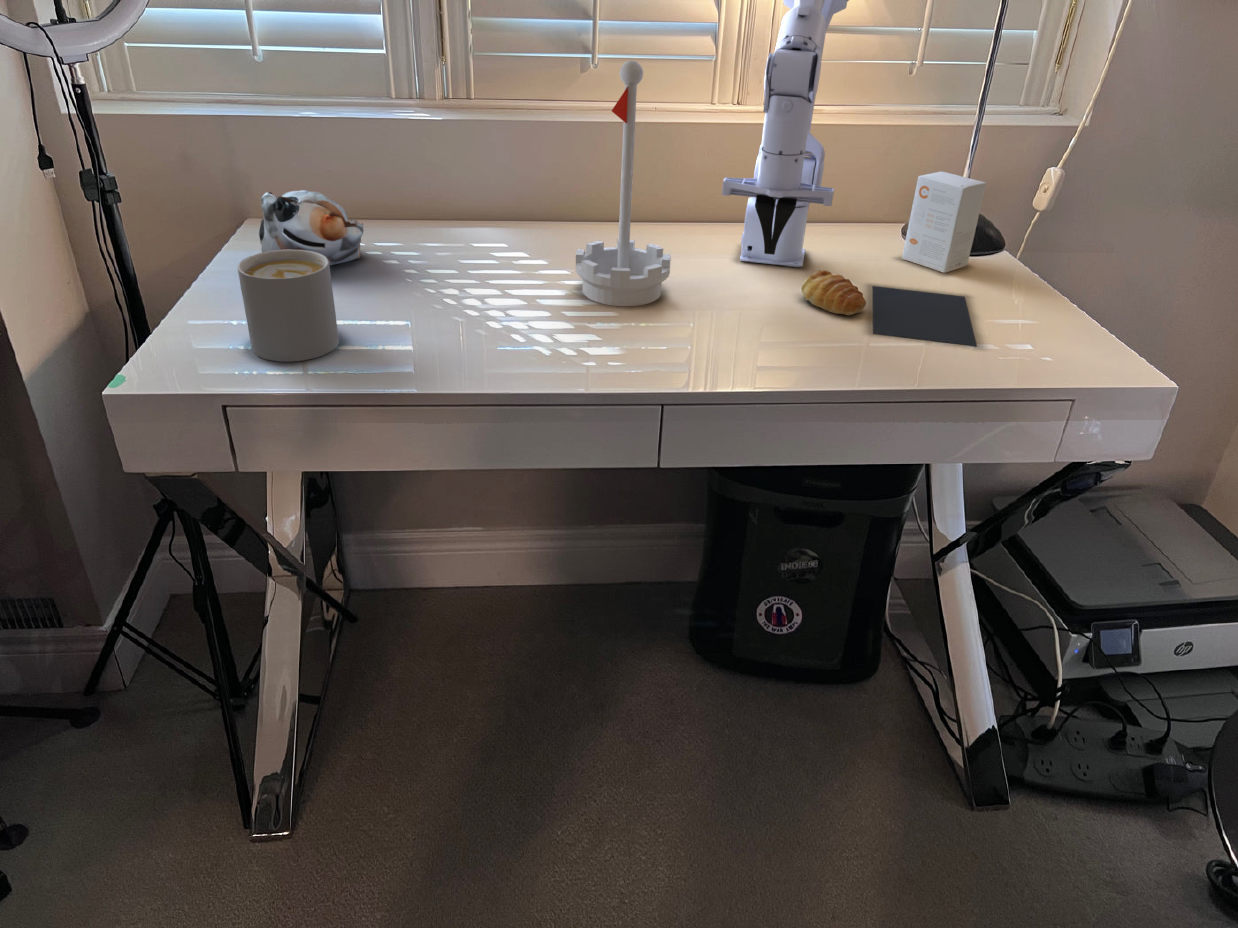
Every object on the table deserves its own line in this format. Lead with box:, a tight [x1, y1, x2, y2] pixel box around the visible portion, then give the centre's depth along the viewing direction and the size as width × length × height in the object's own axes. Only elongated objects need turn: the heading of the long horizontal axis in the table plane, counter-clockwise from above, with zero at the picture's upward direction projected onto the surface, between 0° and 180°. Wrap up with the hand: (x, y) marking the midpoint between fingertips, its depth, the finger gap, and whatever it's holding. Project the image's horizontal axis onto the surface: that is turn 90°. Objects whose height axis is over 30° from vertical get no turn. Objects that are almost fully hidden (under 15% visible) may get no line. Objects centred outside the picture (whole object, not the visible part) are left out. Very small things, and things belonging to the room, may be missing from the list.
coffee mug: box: [237, 249, 340, 363], centre depth 111 cm, size 13×10×10 cm
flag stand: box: [575, 60, 672, 307], centre depth 123 cm, size 13×13×30 cm
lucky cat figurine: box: [258, 189, 364, 266], centre depth 131 cm, size 15×12×14 cm
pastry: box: [800, 269, 867, 316], centre depth 128 cm, size 9×7×4 cm
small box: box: [901, 170, 987, 274], centre depth 143 cm, size 8×6×13 cm
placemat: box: [872, 285, 978, 347], centre depth 128 cm, size 13×18×1 cm
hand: (769, 252), depth 128 cm, fingers closed
